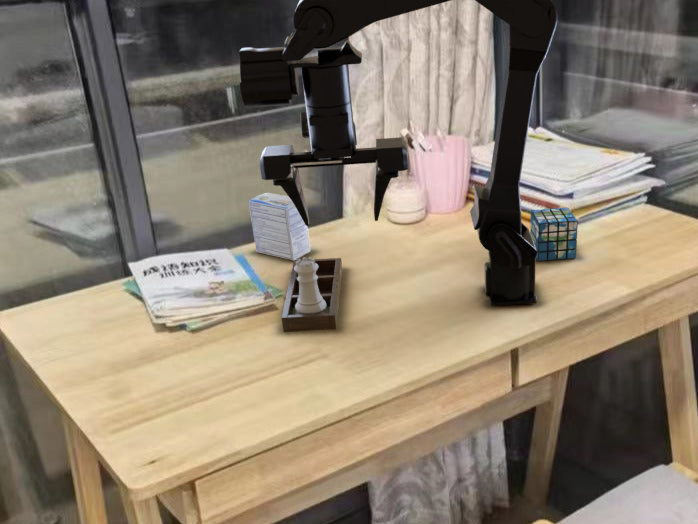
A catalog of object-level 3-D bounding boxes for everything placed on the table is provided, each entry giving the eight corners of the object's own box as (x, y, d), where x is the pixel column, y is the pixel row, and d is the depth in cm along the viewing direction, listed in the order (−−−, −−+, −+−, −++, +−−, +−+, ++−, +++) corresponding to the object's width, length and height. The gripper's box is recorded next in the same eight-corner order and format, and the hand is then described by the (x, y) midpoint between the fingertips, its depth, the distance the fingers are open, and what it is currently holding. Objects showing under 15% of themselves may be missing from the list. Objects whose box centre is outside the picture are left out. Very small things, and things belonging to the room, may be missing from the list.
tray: (342, 270, 143) (341, 257, 142) (336, 329, 127) (334, 315, 126) (295, 272, 143) (294, 259, 142) (283, 332, 127) (281, 317, 126)
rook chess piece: (335, 314, 130) (329, 259, 125) (310, 325, 127) (303, 270, 122) (313, 305, 132) (307, 251, 128) (288, 316, 130) (281, 261, 125)
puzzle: (576, 258, 144) (578, 220, 141) (537, 261, 144) (538, 223, 141) (566, 243, 149) (568, 206, 146) (529, 246, 149) (530, 209, 145)
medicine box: (311, 252, 150) (305, 199, 145) (293, 262, 147) (286, 208, 142) (273, 243, 153) (266, 191, 149) (255, 252, 150) (247, 199, 145)
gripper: (401, 82, 125) (409, 197, 133) (260, 91, 124) (277, 206, 133) (403, 103, 115) (412, 225, 124) (250, 113, 115) (270, 235, 124)
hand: (342, 222), depth 126 cm, fingers open, 9 cm apart
